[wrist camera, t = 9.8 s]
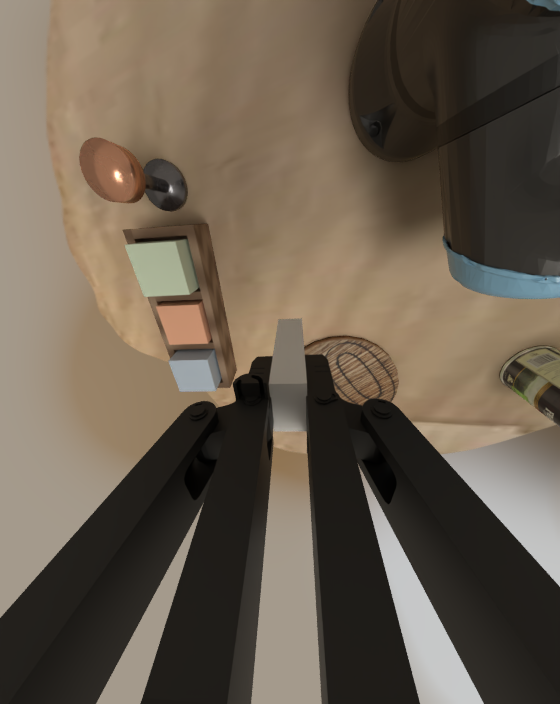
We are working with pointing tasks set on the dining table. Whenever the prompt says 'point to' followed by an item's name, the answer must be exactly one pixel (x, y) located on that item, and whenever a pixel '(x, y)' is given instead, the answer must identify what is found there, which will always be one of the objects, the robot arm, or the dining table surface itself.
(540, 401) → the coffee can
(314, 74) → the dining table surface
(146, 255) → the sage button
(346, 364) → the trivet
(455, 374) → the dining table surface
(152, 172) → the indicator lamp
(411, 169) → the dining table surface
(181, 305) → the terracotta button
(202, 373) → the slate button
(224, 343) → the button console
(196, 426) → the robot arm
